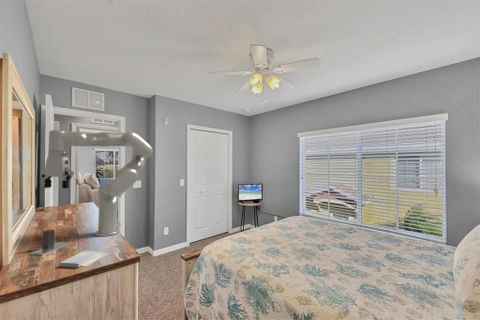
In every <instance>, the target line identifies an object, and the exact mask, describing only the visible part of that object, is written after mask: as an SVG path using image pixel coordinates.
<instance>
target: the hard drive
mask: <svg viewBox="0 0 480 320" xmlns="http://www.w3.org/2000/svg"><path fill="white" fill-rule="evenodd" d="M100 253H101V251H100V250H99V251H98V250H96V251H95V250H83V251H81V252H78V253H77V254H75V255H73V256H70V257H69V258H67V259H64V260H62V261H60V262H59V263H58V267H61V268H62V267H63V268H79V267H83V266H82V265H83V264H85V263H87V262H88V261H90V260H92V259H93V258H95V257H97V256H98V255H100Z"/></svg>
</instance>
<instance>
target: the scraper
mask: <svg viewBox="0 0 480 320" xmlns="http://www.w3.org/2000/svg"><path fill="white" fill-rule="evenodd" d="M55 232H56V229H54V228H53V229H46V230H43V231H42V243H41V244H42V247H41V248H40V249H37V250H34V251H32V252H30V253H29V254H31V255H32V256H45V255H47V254H50V253H52V252H55V251H56V250H59V249H61V248H64V247H66V246H69V245H70V244H71V243H70V242H68V241H67V242H65V241H57V242H55V235H56V234H55Z"/></svg>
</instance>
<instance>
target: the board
mask: <svg viewBox="0 0 480 320" xmlns="http://www.w3.org/2000/svg"><path fill="white" fill-rule="evenodd" d="M107 255H109V252H100V255H98V256H97V257H95V258H93V259H92V260H90V261H88V262H87V263H85V264H83V265H82V266H81V267H82V268H83V267H84V268H86V267H88V266H90V265H92V264H93V263H95V262H97V261H98V260H101V259H102V258H103V257H105V256H107Z"/></svg>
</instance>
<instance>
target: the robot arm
mask: <svg viewBox="0 0 480 320" xmlns="http://www.w3.org/2000/svg"><path fill="white" fill-rule="evenodd" d="M69 146H71V147H101V148H102V147H103V148H104V147H110V148H111V147H131V148H132V151H131V154H132V158H131V160H130V161H129V162H128V163H127V164H125V165H124V166H122V167H121V168H120V169H119V170H118V171H117V172H116V173H115V178H114V179H104V180H102V181H101V182H100V183H99V185H98V190H97V191H98V198H99V199H98V221H97V223H98V224H97V230H96V231H94V235H95V236H97V237H108V236H114V235H116V234H119V233H120V231H121V230H120V229H119V228H118V227H120V226H121V225H122V223H121V222H118V210H119V209H118V205H119V204H118V203H119V201H118V197H120V196H122V195H123V194H125V192H127V190H129V189H130V188H131V187H132V186H133V185H135V184H136V183H137V181H138V179H139V173H140V171H142V169H143V168H144V166H145V163H146V159H148V158H150V157H152V155H153V153H154V152H153V151H154V150H153V147H152V146H151V145H150V144H149V143H148V142H147V141H146V140H144V139H143V138H142V137H141V136H140V135H139V134H138V133H136V132H134V131H130V132H128V131H127V132H114V131H113V132H110V131H105V132H104V131H103V132H96V133H94V132H93V133H85V132H84V133H83V132H82V131H69V130H68V131H66V130H60V129H52V130H51V129H50V130H49V133H48V149H47V150H48V153H47V154H48V155H47V157H46V160H45V166H44V169H42V170H41V171H40V174H41V177H42V179H43V181H44V185H43V187H44V189H48V188H52V178H53V177H54V178H55V177H58V178H60V177H61V178H62V182H61V188H62V189H69V188H70V186H69V185H70V182H69V181H70V180H71V179H73V175H74V174H75V172H74V171H73V170H72V169H71V162H70V158H69V157H68V155H70V154H69V152H68V148H69ZM117 230H118V231H119V233H118V231H117Z"/></svg>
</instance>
